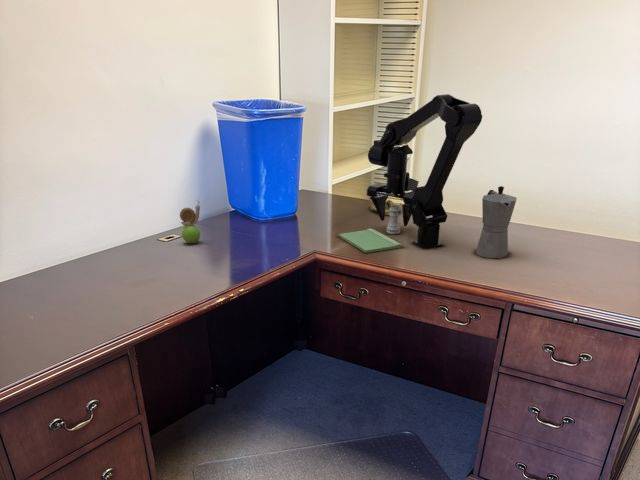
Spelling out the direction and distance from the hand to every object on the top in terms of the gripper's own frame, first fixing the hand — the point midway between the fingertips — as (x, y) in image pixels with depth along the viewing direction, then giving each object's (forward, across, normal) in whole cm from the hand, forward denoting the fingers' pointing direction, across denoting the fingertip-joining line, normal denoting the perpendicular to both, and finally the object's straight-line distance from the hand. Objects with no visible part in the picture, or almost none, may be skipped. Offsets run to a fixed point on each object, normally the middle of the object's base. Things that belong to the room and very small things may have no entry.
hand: (393, 223), depth 185 cm
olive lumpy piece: (+3, +20, -19) cm, 28 cm away
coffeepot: (+3, -32, -4) cm, 33 cm away
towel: (+3, -1, +12) cm, 12 cm away
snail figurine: (+3, +37, +49) cm, 62 cm away
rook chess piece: (+3, 0, 0) cm, 3 cm away
